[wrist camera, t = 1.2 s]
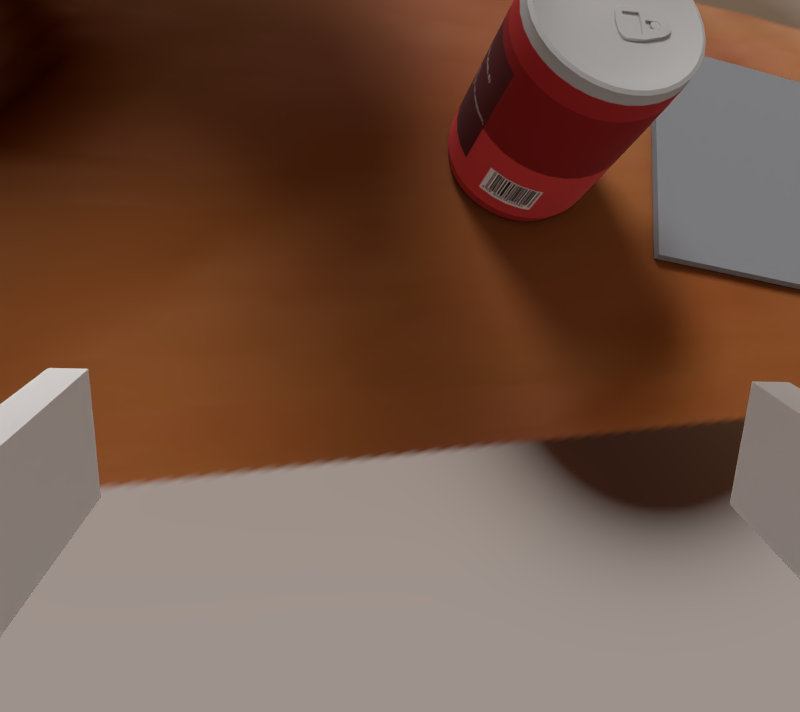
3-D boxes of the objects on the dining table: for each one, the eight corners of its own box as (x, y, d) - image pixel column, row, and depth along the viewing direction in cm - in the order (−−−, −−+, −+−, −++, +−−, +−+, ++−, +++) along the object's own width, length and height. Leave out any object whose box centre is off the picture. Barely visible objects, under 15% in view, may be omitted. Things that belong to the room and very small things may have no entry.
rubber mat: (654, 258, 40) (659, 254, 40) (649, 48, 45) (654, 42, 44) (902, 310, 43) (910, 307, 43) (875, 109, 48) (881, 104, 47)
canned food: (604, 210, 40) (737, 81, 30) (473, 240, 38) (570, 110, 28) (551, 90, 42) (661, -71, 32) (422, 111, 39) (497, -57, 29)
